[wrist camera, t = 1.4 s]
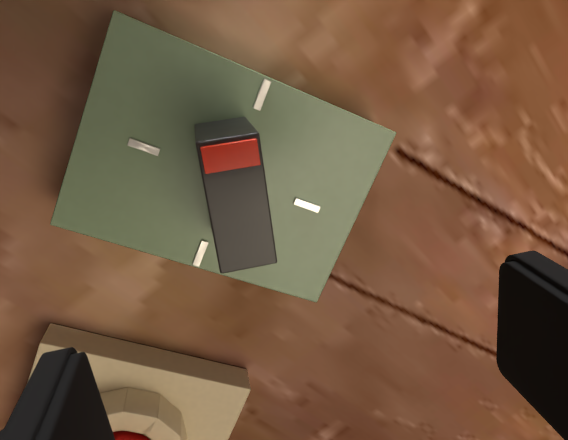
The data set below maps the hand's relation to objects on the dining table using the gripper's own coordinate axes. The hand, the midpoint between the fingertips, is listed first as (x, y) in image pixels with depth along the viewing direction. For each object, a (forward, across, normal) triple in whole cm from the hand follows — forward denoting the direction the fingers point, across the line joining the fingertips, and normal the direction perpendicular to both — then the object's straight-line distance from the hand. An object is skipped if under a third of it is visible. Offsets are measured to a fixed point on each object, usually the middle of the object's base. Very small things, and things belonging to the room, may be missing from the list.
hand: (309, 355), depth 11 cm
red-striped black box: (+14, +1, -1) cm, 14 cm away
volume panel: (+17, +1, -1) cm, 17 cm away
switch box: (+17, +9, +14) cm, 24 cm away
